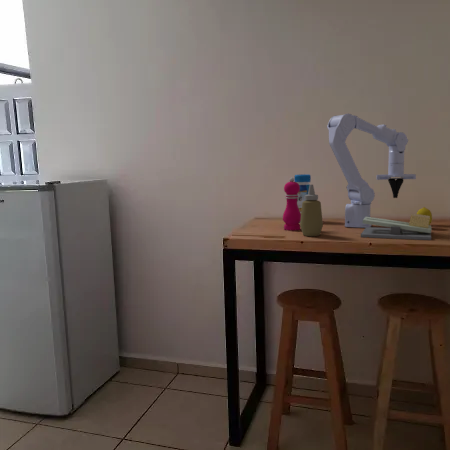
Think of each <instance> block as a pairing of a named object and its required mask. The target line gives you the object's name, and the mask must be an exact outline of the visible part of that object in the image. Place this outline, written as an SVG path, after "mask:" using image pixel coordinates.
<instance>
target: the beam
mask: <svg viewBox="0 0 450 450" xmlns="http://www.w3.org/2000/svg"><path fill="white" fill-rule="evenodd" d="M363 223H364V224H371V225H372V226H373V225H374V226H377V227H378V226H380V227H384V228H391V226H395V227H400V229H405V230H412V231H419V232H426V233H431V234H432V225H431V224H430V225H429V226H428V228H423V227H416V226H409V223H410V221H399V220H395V219H394V220H392V219H386V218H378V217H371V216H370V217H365V218H364V219H363Z"/></svg>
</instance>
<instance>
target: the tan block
mask: <svg viewBox="0 0 450 450" xmlns="http://www.w3.org/2000/svg"><path fill="white" fill-rule="evenodd" d="M429 220H430V216H426V215H419V214H417V213H410V218H409V226H416V227H423V228H428V226H429Z"/></svg>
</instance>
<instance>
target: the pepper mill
mask: <svg viewBox="0 0 450 450" xmlns="http://www.w3.org/2000/svg"><path fill="white" fill-rule="evenodd" d="M283 191H284V193H285V195H284V196H285V200H286V206H285V210H284V211H283V215H282V221H283V223H284V225H283V230H284V231H300V230H301V227H300V223H299V222H300V221H301V213H300V211H299V208H298V205H297V198H299V197H298V192H299V191H300V186H299V184H298V183H296V182H295V180H294V177H290V178H289V181H288V182H286V183H285V184H284V186H283Z"/></svg>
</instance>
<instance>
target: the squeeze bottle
mask: <svg viewBox="0 0 450 450" xmlns="http://www.w3.org/2000/svg"><path fill="white" fill-rule="evenodd" d="M299 224H300V230H301V232H302V235H303V236H306V237H317V236H320V235H321V233H322V229H323V227H324V221H323V213H322V204H321V201H320V200H319V195H318V194H316V192H315V187H314V184H310V186H309V191H308V195H305V201H303V202H302V211H301V221H300V223H299Z"/></svg>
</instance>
